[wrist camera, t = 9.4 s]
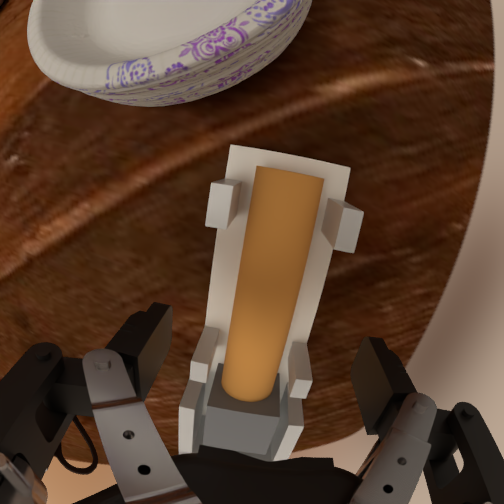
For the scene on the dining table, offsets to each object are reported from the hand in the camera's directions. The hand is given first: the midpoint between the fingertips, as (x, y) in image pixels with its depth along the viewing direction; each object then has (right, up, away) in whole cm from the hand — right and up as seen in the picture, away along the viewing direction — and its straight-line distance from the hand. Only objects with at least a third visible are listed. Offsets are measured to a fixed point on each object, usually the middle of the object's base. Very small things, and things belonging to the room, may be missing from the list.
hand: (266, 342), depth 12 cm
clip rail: (0, -1, +8) cm, 8 cm away
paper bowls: (-5, +19, +3) cm, 20 cm away
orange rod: (0, 0, +7) cm, 7 cm away
